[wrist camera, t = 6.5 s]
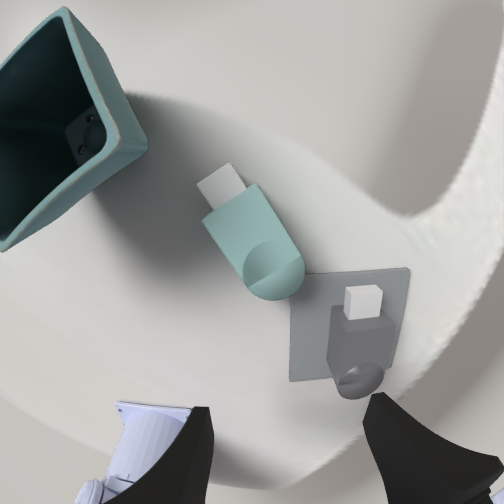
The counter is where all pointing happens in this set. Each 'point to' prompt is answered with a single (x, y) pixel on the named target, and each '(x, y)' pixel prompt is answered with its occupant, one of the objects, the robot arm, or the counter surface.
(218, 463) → the counter surface
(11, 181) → the flower pot
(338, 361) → the white-capped grey post
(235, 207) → the teal plug
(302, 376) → the coaster
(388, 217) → the counter surface
